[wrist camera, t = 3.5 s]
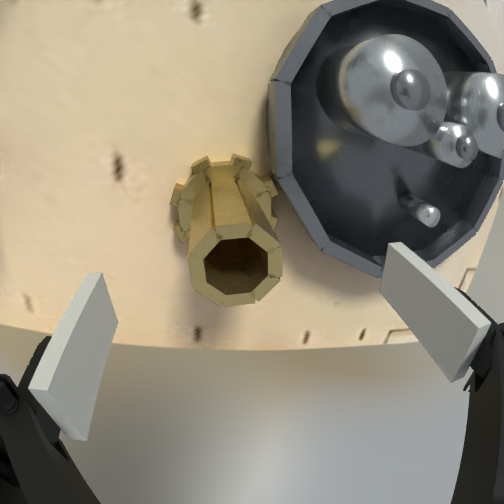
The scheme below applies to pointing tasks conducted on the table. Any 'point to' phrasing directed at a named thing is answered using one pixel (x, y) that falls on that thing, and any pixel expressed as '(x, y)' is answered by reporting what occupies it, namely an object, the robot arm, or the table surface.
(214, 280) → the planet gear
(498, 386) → the robot arm
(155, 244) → the table surface
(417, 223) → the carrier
